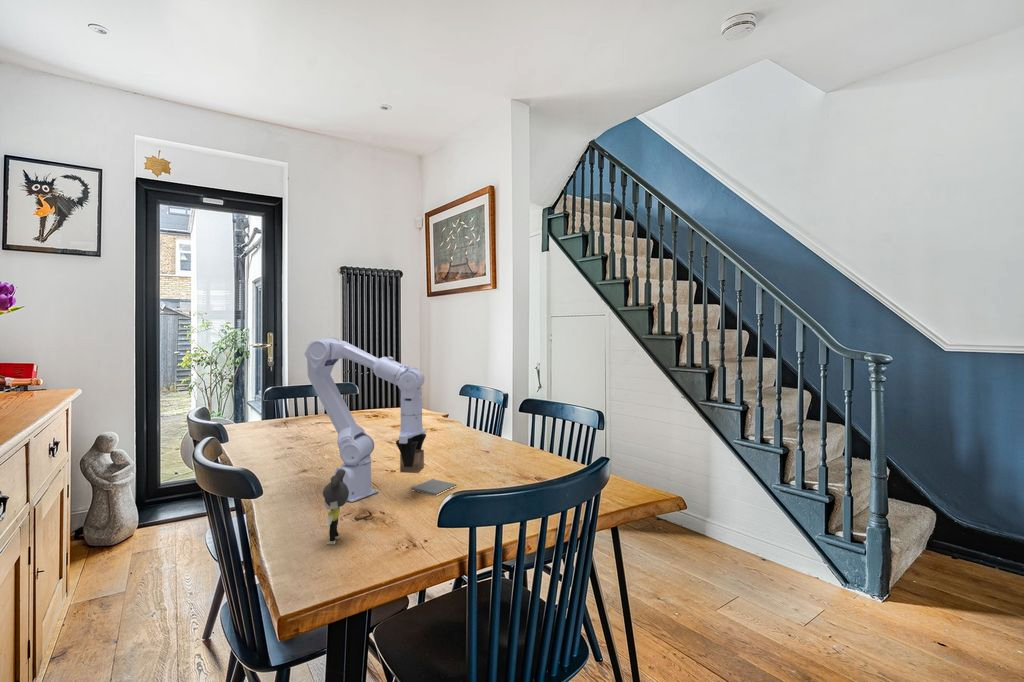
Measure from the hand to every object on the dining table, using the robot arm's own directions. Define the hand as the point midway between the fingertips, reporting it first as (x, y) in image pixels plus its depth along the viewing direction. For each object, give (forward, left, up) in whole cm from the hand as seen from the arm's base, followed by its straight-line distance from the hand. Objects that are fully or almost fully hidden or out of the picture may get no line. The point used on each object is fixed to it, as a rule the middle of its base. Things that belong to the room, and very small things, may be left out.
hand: (411, 463), depth 136 cm
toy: (-30, -5, -9) cm, 31 cm away
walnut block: (0, 0, -2) cm, 2 cm away
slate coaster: (+8, -1, -9) cm, 12 cm away
